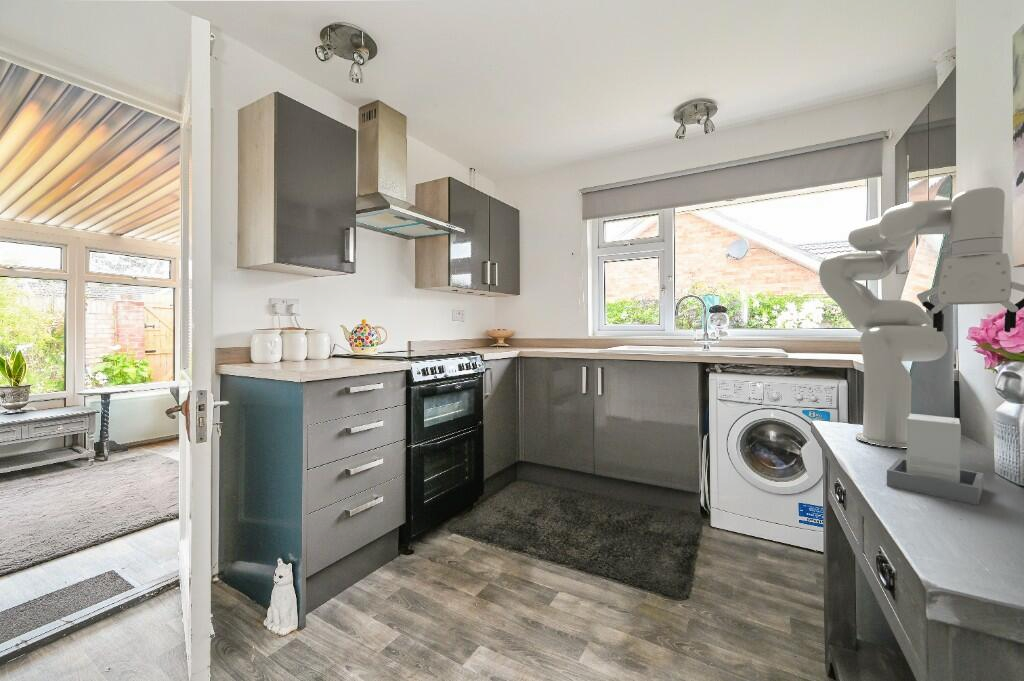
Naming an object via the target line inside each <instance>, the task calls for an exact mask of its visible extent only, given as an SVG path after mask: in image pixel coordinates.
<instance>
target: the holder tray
mask: <svg viewBox="0 0 1024 681" xmlns="http://www.w3.org/2000/svg"><path fill="white" fill-rule="evenodd" d="M906 463H907V458H906V459H905V458H901V457H900V458H899V457H898V459H897V460H895V461H894V463H893V464H892V465H890V466H889V467H888V469H886V486H888V487H892V488H893V487H894V488H898V489H902V490H906V491H911V492H912V491H913V492H916V493H920V494H925V495H930V496H935V497H938V498H939V497H940V498H944V499H948V500H952V501H957V502H962V503H966V504H969V505H970V504H971V505H977V506H979V504H980V500H981V497H982V494H983V491H984V490H983V489H984V472H978V471H973V470H967V469H962V468H960V483H956V482H950V481H945V480H940V479H935V478H930V477H925V476H920V475H915V474H910V473H907V465H906Z"/></svg>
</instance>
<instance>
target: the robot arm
mask: <svg viewBox="0 0 1024 681" xmlns="http://www.w3.org/2000/svg"><path fill="white" fill-rule="evenodd" d="M1005 195H1006V194H1005V191H1004V190H1003V188H999V187H993V186H989V187H979V188H974V189H970V190H969V189H968V190H965V191H962V192H959V193H958V194H956V195H955V196H953V198H952V199H933V200H929V199H928V200H919V201H918V200H916V201H911V202H906V203H903V204H900V205H895V206H894V207H891V208H889V209H887V210H886V211H885V212H884V213H883V214H882V216H881V217H878V218H875V219H870V220H867V221H865V222H861V223H860V224H858V225H856V226H854V228H853V229H852V230H851V231H850V233H849V234H848V239H847V240H848V243H849V245H850V246H851V247H852V248H853V249H855V250H856V251H860V252H841V253H836V254H832V255H829V256H827V257H826V258H824V259H823V260H822V261H821V263H820V265H819V269H818V270H819V271H818V276H819V281H820V284H821V287H822V288H823V290H824V292H825V293H826V294H827V295H828V296H829V297H830V299H832V300H833V301H834V302H835V303H836V304H837V305H838V307H839V308H840V309H841V311H842V313H843V314H844V315H845V317H846V318H847V320H848V321H849V323H850V324H851V326H852V327H853V328H854V329H855V330H856V331H857V332H859V333H862V334H861V336H860V340H859V345H860V351H861V355H862V362H863V378H864V379H863V410H862V411H863V413H862V414H863V418H862V419H863V420H862V422H863V423H862V432H858V433H856V434H855V439H856V438H858V439H860V440H862V441H866V442H870V443H875V444H879V445H885V446H891V447H907V420H906V419H907V418H908V416H909V415H910V414H912V410H911V408H912V376H911V374H910V373H909V371H908V369H907V368H906V367H905V365H904V364H903V362H931V361H935V360H939V359H941V358H942V357H944V355H946V352H947V350H948V340H947V337H946V336H945V333H944V332H943V331H944V327H945V326H944V323H945V314H944V313H943V311H944V310H945V309H946V308H947V307H948V306H950V305H956V306H957V305H984V304H985V305H989V304H1000V305H1002V306H1003V307H1004V308H1005V309H1006V312H1004V328H1003V329H1004V330H1003V332H1004V333H1011V329H1016V328H1017V327H1016V326H1017V312H1019V311H1020V310H1022V309H1023V308H1024V297H1023V298H1022V299H1021V300H1020V301H1017V302H1016V303H1015V304H1014V303H1013V302H1011V301H1010V299H1011V295H1012V289H1013V290H1015V291H1018V292H1022V293H1024V284H1022V283H1018V282H1015V281H1012V268H1011V262H1010V258H1009V257H1010V256H1009V254H1008V253H1007V252H1006V253H1005V252H1003V251H1004V250H1003V249H1004V226H1005V225H1004V224H1005V203H1006V202H1005V201H1006V200H1005V198H1006V196H1005ZM919 235H920V236H924V235H949V245H947V246H945V247H941V248H939V255H947V256H949V257H946V258H944V259H943V262H942V266H941V268H940V269H941V270H940V274H939V284H938V285H935V287H932V288H929V289H927V290H924V291H923V292H920V293H918V294H916V298H917V299H918V301H919V302H920V303H921V304H922V307H924V309H925V308H926V309H927V310H928V311H929V312H931V313H932V314H933V316H932V318H933V319H932V318H931V317H930V316H929V314H928V313H927V312H925V310H924V309H923V308H922V307H921V306H920V305H918V304H917V303H915V302H912V301H910V300H905V299H904V300H903V299H895V300H894V299H888V300H887V299H881V298H879V297H877V296H875V295H874V293H873V292H872V291H871V289H869V288H868V287H867V286H865V285H864V284H862V283H860V282H857V281H879V280H882V279H885V278H887V277H888V276H889V275H890V274H891V273H892V271H894V269H895V268H896V266H898V264H899V262H901V261H902V259H903V258H904V257H905V255H906V253H907V252H909V250H910V248H911V247H912V245H913V244H914V241H915V239H916V236H919ZM936 294H937V295H938V301H939V303H937V304H936V305H934V304H933V303H932V302H930V300H929V297H930V296H933V295H936Z"/></svg>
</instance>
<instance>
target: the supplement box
mask: <svg viewBox="0 0 1024 681" xmlns="http://www.w3.org/2000/svg"><path fill="white" fill-rule="evenodd" d="M906 420H907V449H906V460H907V463H906V465H907V473H910V474H915V475H920V476H925V477H930V478H935V479H940V480H945V481H950V482H956V483H960V469H961V453H962V452H961V448H962V447H961V443H962V424H961V422H960V417H959V418H958V417H949V416H939V415H928V414H919V413H918V414H917V413H911V414H910V415H909V416H908V418H907V419H906Z"/></svg>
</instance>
